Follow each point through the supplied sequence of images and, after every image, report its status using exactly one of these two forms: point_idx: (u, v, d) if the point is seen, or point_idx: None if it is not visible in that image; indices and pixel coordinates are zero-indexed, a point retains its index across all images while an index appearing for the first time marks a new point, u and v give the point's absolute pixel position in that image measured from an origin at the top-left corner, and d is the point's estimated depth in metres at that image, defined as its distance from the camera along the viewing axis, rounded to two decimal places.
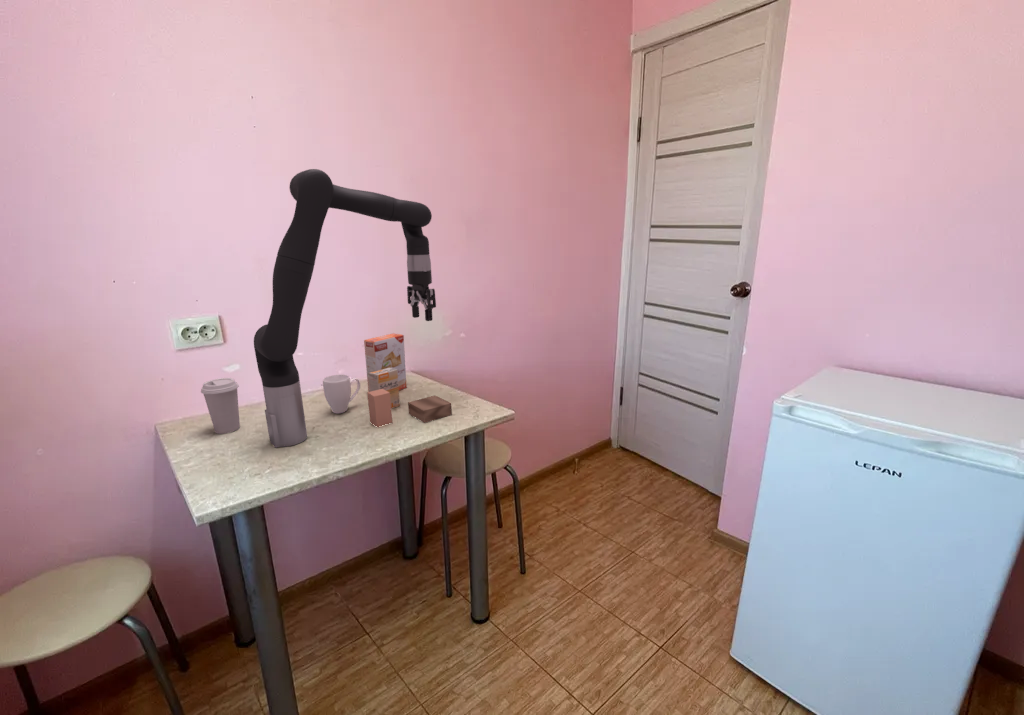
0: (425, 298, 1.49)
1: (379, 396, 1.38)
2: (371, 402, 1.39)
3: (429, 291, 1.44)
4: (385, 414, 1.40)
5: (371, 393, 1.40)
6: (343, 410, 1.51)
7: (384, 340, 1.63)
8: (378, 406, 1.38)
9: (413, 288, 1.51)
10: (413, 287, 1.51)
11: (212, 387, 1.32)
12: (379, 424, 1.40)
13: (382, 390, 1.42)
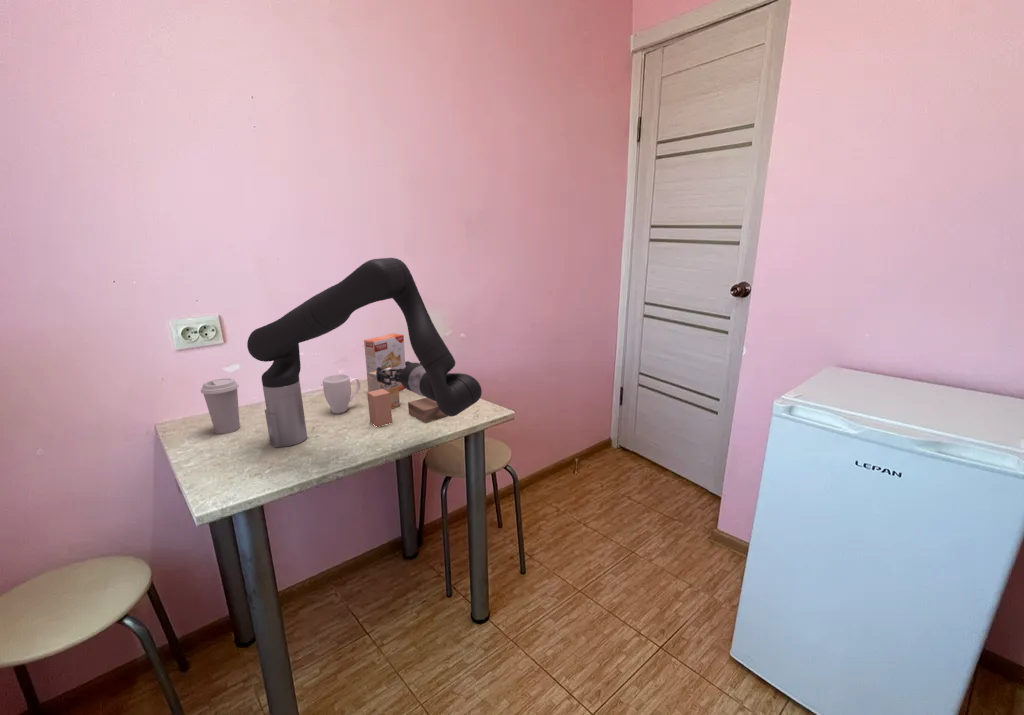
0: None
1: (379, 396, 1.38)
2: (371, 401, 1.39)
3: (385, 377, 1.18)
4: (385, 414, 1.40)
5: (371, 393, 1.40)
6: (343, 410, 1.51)
7: (384, 340, 1.63)
8: (378, 406, 1.38)
9: None
10: None
11: (212, 387, 1.32)
12: (379, 424, 1.40)
13: (382, 390, 1.42)
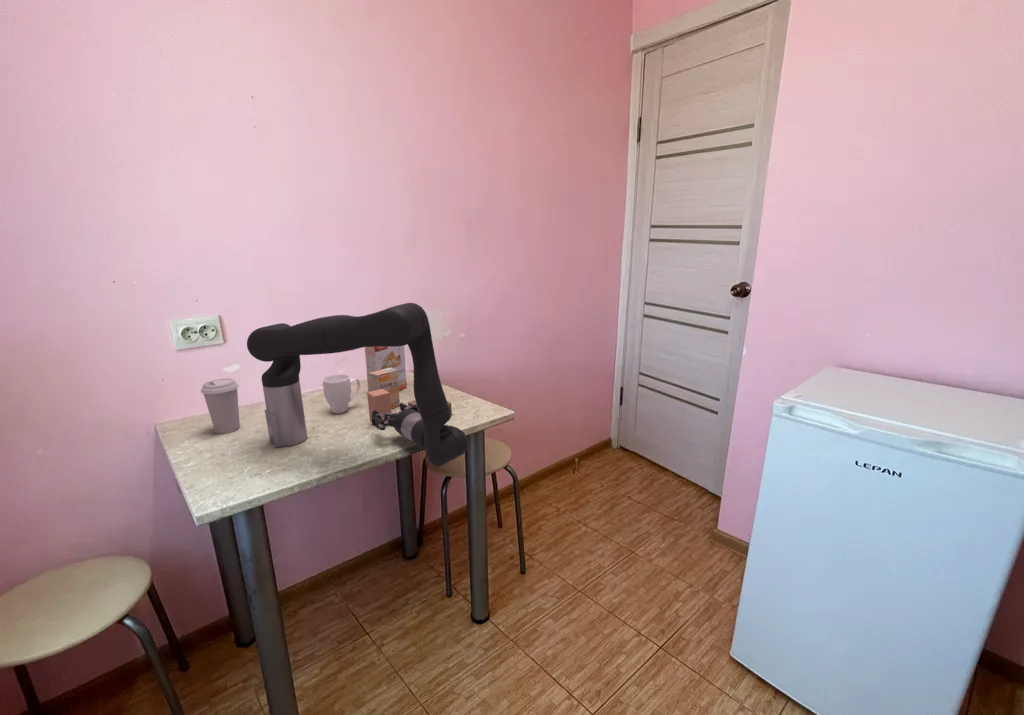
0: None
1: (379, 396, 1.38)
2: (371, 402, 1.39)
3: (379, 423, 1.25)
4: None
5: (371, 393, 1.40)
6: (343, 410, 1.51)
7: None
8: (378, 406, 1.38)
9: None
10: None
11: (212, 387, 1.32)
12: None
13: (382, 390, 1.42)
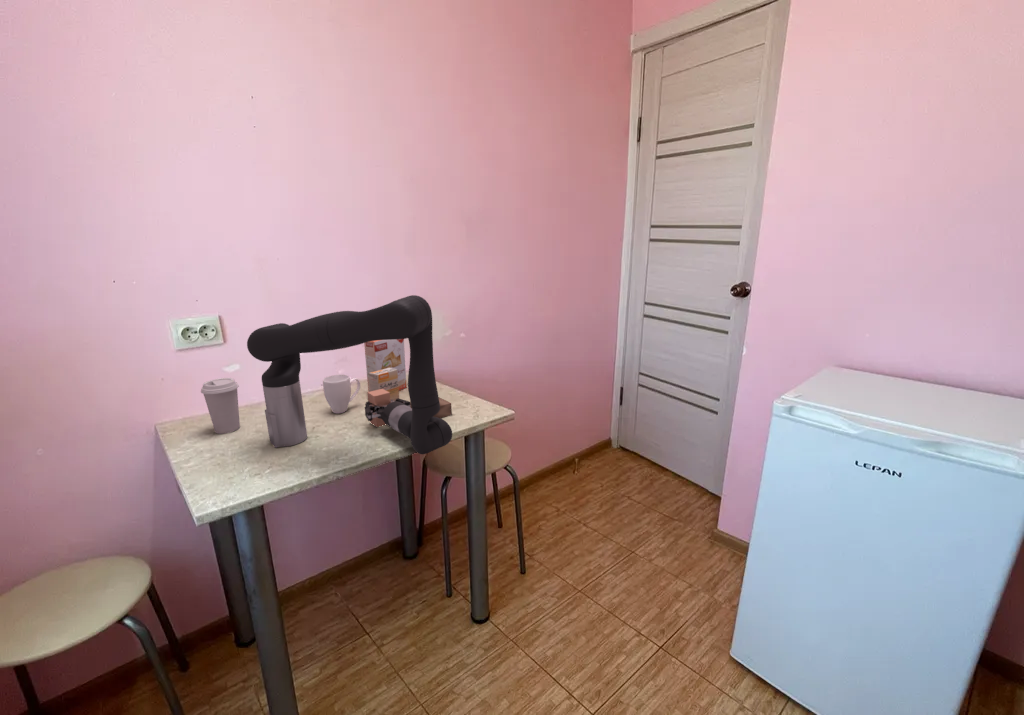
0: None
1: (379, 396, 1.38)
2: (371, 401, 1.39)
3: (367, 414, 1.32)
4: None
5: (371, 393, 1.40)
6: (343, 410, 1.51)
7: (384, 340, 1.63)
8: None
9: None
10: None
11: (212, 387, 1.32)
12: (379, 424, 1.40)
13: (382, 390, 1.42)
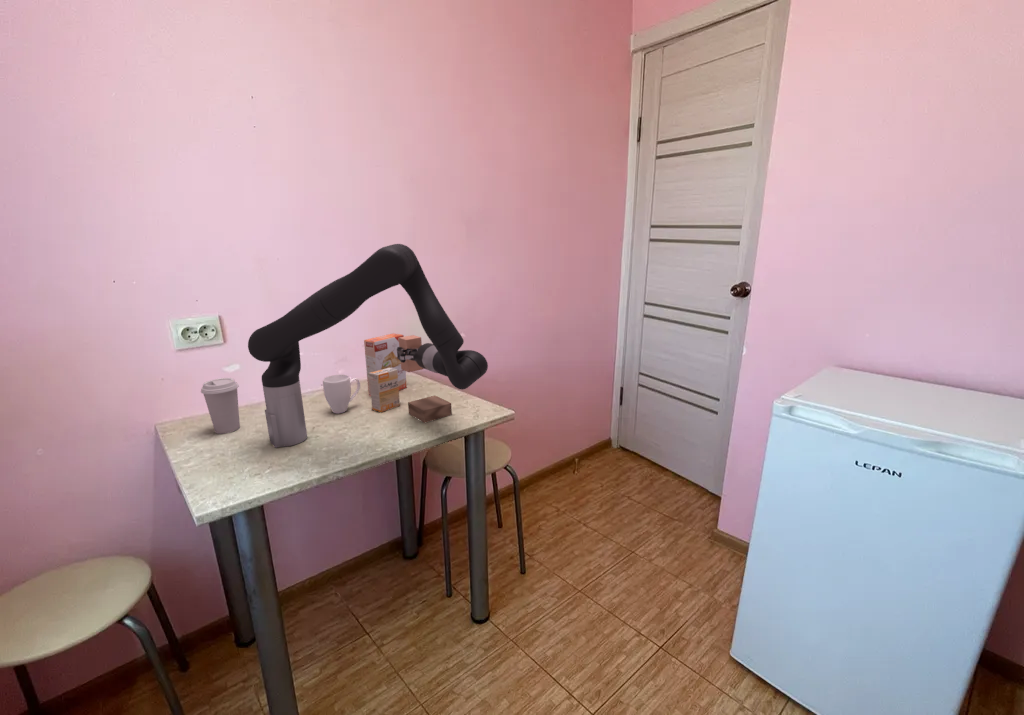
0: None
1: (411, 340, 1.38)
2: (403, 346, 1.39)
3: (400, 355, 1.32)
4: None
5: (403, 338, 1.39)
6: (343, 410, 1.51)
7: (384, 340, 1.63)
8: None
9: None
10: None
11: (212, 387, 1.32)
12: (411, 369, 1.40)
13: (413, 336, 1.42)
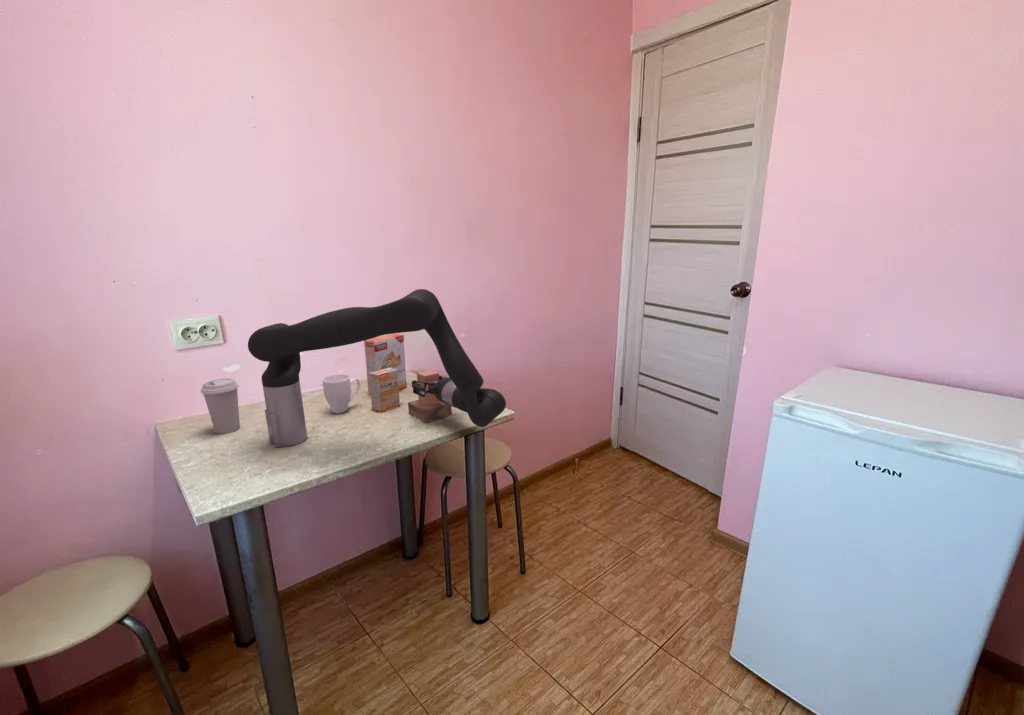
0: None
1: (429, 376, 1.43)
2: (421, 381, 1.44)
3: (421, 390, 1.36)
4: None
5: (421, 373, 1.45)
6: (343, 410, 1.51)
7: (384, 340, 1.63)
8: (428, 386, 1.44)
9: None
10: None
11: (212, 387, 1.32)
12: (428, 403, 1.45)
13: (430, 371, 1.47)
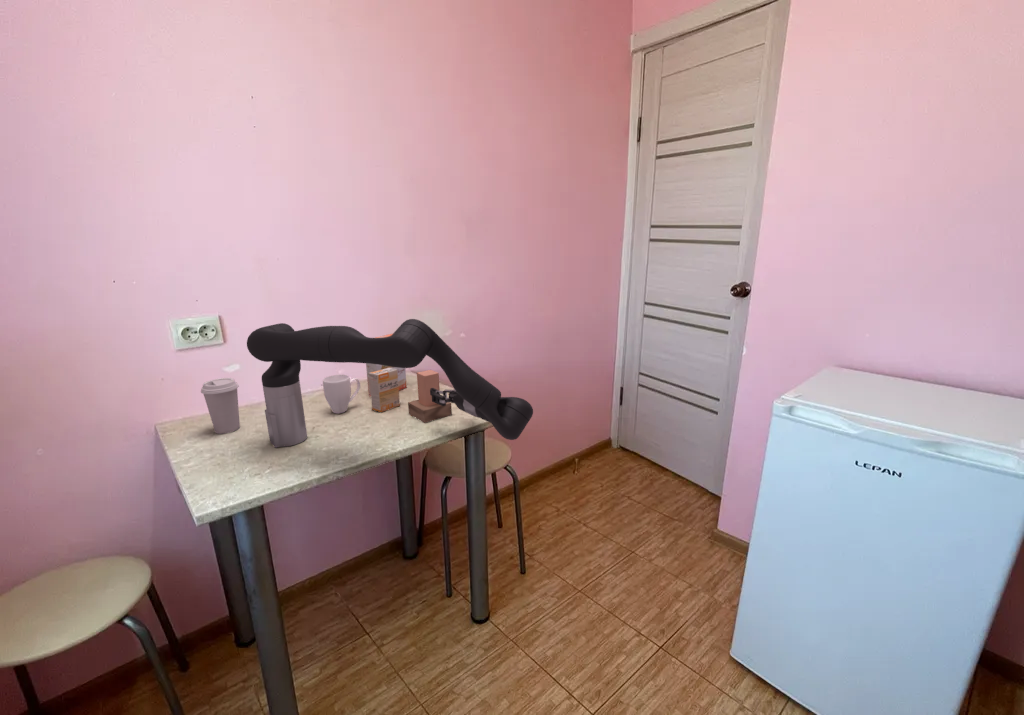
0: None
1: (429, 376, 1.43)
2: (421, 381, 1.44)
3: (441, 399, 1.28)
4: None
5: (421, 373, 1.45)
6: (343, 410, 1.51)
7: None
8: (428, 386, 1.44)
9: None
10: None
11: (212, 387, 1.32)
12: (428, 403, 1.45)
13: (430, 371, 1.47)
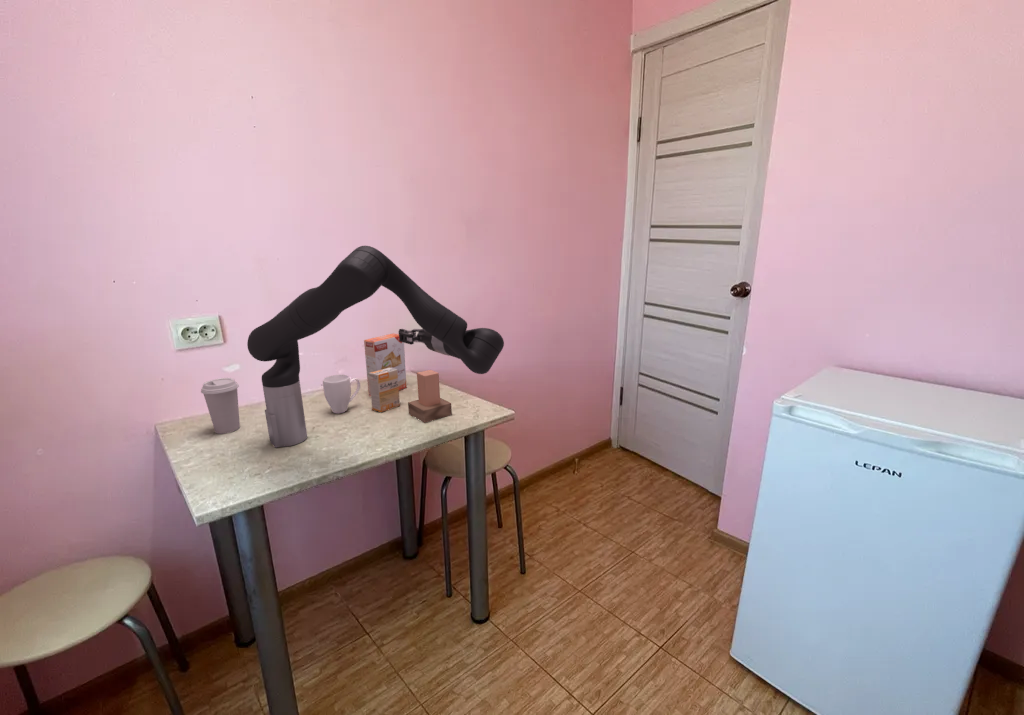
0: None
1: (429, 376, 1.43)
2: (421, 381, 1.44)
3: (408, 336, 1.19)
4: (434, 394, 1.46)
5: (421, 373, 1.45)
6: (343, 410, 1.51)
7: (384, 340, 1.63)
8: (428, 386, 1.44)
9: None
10: None
11: (212, 387, 1.32)
12: (428, 403, 1.45)
13: (430, 371, 1.47)
